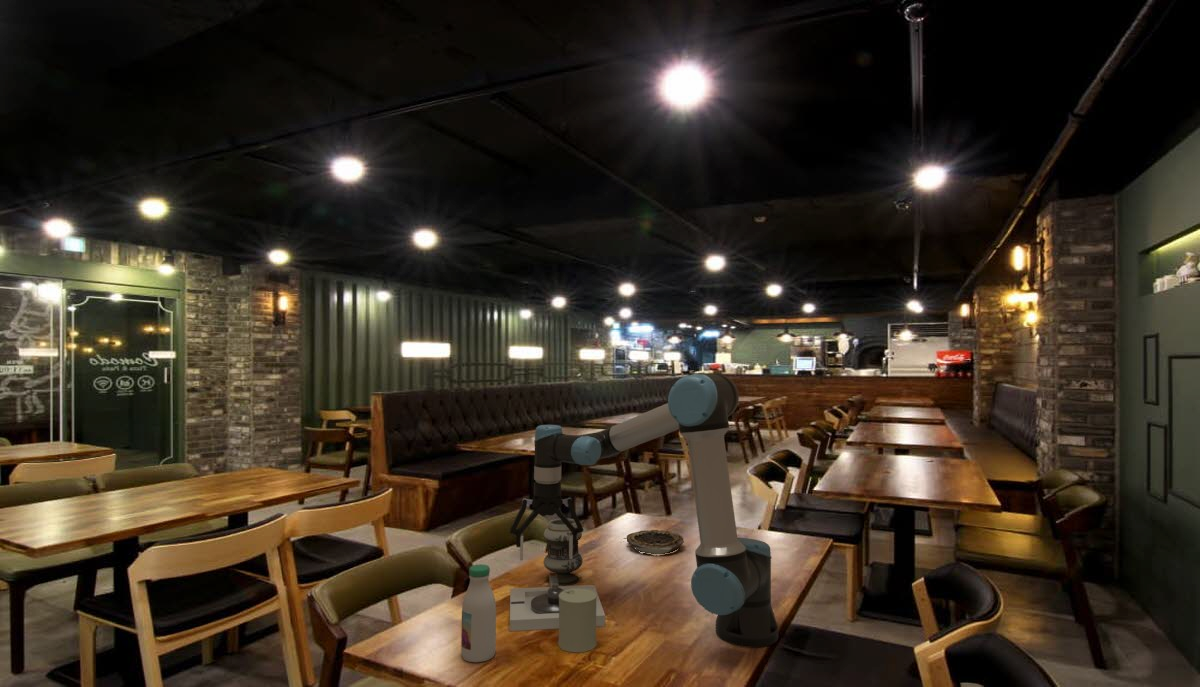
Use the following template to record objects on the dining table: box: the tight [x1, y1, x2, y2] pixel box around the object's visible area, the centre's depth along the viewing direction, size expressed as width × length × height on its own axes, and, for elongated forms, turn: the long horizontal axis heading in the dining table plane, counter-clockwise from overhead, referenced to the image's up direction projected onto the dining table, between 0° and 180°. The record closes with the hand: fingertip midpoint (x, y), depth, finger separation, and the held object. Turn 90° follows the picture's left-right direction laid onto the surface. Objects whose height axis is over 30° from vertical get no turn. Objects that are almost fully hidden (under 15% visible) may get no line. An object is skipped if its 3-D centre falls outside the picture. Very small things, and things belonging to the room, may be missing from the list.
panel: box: [509, 584, 606, 632], centre depth 168 cm, size 22×24×3 cm
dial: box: [531, 572, 563, 614], centre depth 170 cm, size 16×13×6 cm
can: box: [557, 588, 598, 654], centre depth 149 cm, size 9×9×12 cm
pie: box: [622, 529, 685, 554], centre depth 226 cm, size 28×27×5 cm
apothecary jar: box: [543, 517, 583, 586], centre depth 193 cm, size 12×12×18 cm
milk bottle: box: [460, 563, 497, 663], centre depth 143 cm, size 8×8×20 cm
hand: (546, 558), depth 173 cm, fingers open, 13 cm apart
